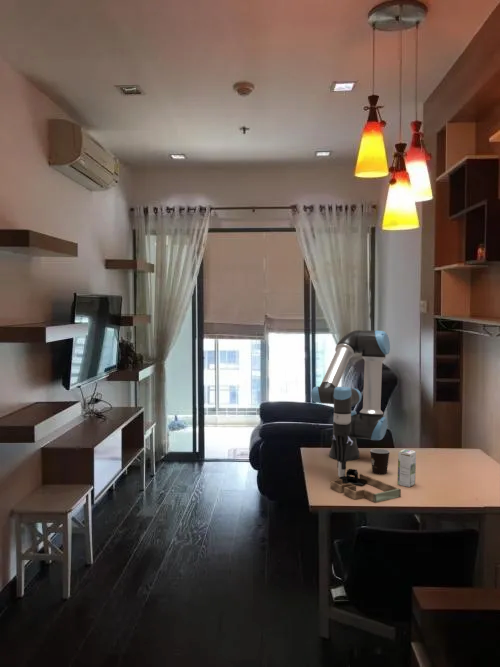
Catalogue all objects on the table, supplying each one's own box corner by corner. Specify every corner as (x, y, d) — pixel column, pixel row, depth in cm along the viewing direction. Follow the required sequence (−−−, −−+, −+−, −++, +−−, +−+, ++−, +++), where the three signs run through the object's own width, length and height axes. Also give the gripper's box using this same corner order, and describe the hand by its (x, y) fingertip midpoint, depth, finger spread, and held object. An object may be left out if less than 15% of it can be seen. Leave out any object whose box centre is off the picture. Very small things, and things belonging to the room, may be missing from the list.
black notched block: (335, 480, 235) (335, 470, 235) (343, 476, 241) (342, 466, 241) (362, 484, 228) (361, 473, 228) (369, 480, 234) (368, 469, 234)
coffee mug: (389, 475, 243) (389, 453, 243) (370, 474, 245) (370, 452, 245) (388, 468, 255) (388, 447, 254) (369, 467, 256) (369, 446, 256)
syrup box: (402, 481, 235) (403, 448, 234) (415, 484, 231) (416, 450, 231) (397, 484, 230) (397, 451, 230) (410, 487, 227) (410, 453, 226)
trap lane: (327, 486, 228) (327, 479, 228) (360, 480, 237) (361, 473, 237) (365, 504, 207) (365, 496, 207) (400, 496, 216) (400, 489, 216)
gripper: (325, 420, 238) (325, 473, 239) (346, 426, 228) (345, 481, 228) (338, 419, 243) (337, 471, 243) (359, 424, 232) (358, 478, 233)
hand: (341, 476), depth 236 cm, fingers closed
